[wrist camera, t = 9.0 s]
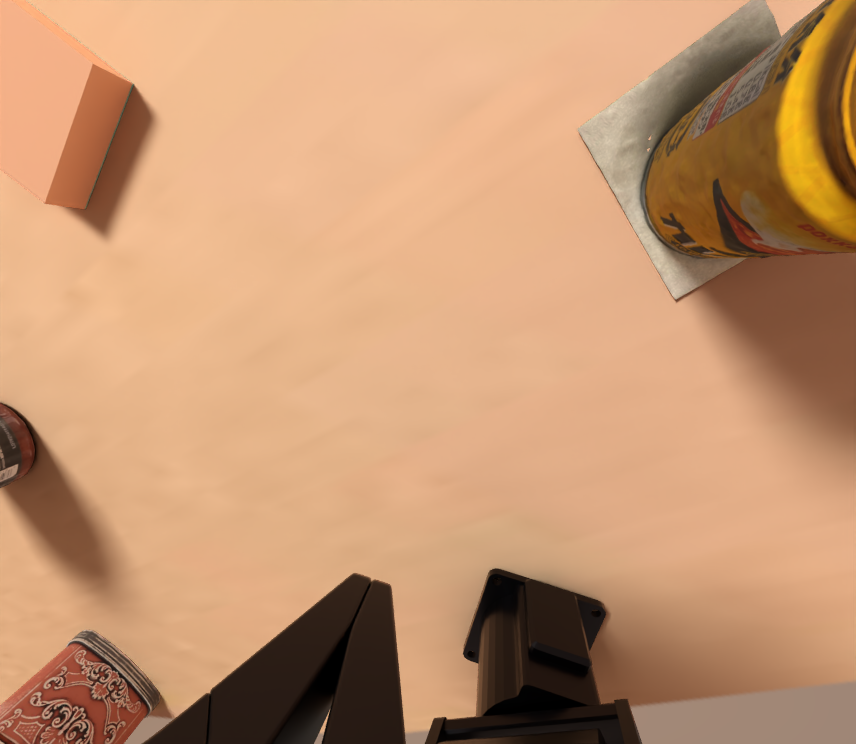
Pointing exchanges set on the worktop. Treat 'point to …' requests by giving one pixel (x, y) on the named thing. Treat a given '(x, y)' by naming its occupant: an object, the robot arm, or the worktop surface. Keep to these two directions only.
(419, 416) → the worktop surface
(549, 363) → the worktop surface
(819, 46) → the condiment
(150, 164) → the worktop surface
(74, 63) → the tile
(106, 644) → the lighter
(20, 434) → the supplement bottle
